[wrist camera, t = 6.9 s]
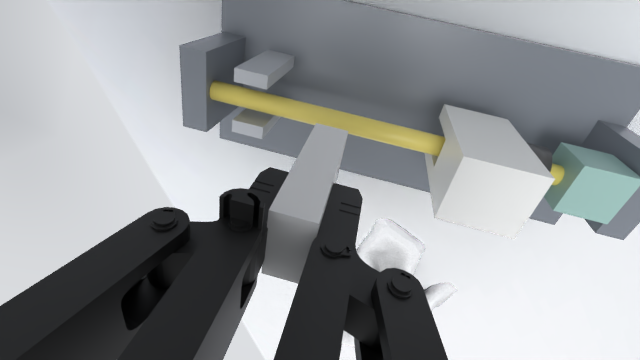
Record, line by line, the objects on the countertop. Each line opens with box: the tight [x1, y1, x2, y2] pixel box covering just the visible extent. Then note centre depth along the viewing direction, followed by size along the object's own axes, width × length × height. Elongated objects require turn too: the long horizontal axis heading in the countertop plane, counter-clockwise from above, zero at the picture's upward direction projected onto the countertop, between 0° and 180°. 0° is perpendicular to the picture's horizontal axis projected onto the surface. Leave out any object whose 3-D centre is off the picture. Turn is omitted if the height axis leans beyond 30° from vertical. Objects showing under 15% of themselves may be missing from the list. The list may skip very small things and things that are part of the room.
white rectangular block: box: [424, 104, 555, 239], centre depth 19 cm, size 4×4×7 cm
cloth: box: [342, 218, 457, 347], centre depth 34 cm, size 22×19×6 cm
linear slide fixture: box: [179, 0, 640, 240], centre depth 22 cm, size 28×12×8 cm, turn 79°
